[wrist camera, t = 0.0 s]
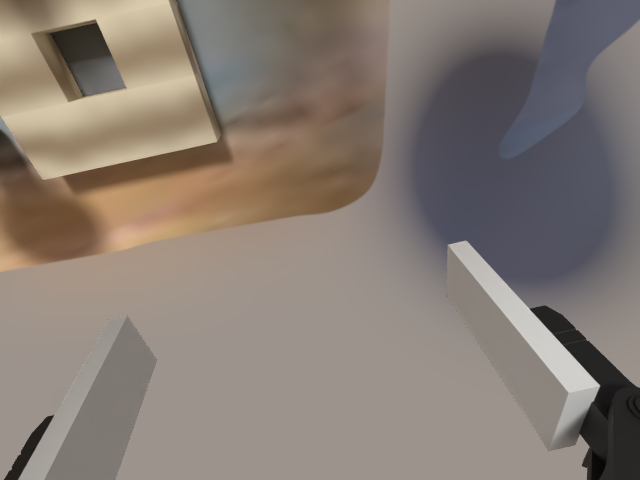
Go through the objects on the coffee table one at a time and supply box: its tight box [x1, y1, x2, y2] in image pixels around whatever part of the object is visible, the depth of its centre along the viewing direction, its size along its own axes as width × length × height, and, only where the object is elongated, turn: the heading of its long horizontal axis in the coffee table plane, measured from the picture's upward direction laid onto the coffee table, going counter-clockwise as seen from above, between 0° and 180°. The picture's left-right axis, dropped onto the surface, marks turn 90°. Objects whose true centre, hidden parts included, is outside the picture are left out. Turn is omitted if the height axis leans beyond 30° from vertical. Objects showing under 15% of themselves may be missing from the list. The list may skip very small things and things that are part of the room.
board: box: [0, 0, 221, 180], centre depth 31 cm, size 18×18×3 cm
